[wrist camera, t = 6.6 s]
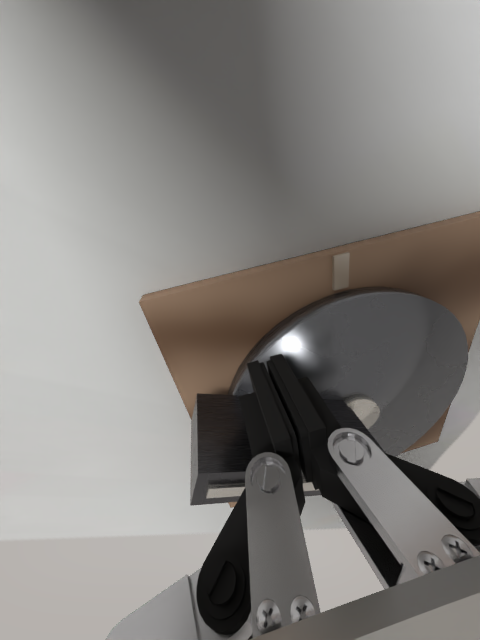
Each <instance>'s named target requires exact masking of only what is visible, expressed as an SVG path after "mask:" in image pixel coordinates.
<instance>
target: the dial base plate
mask: <svg viewBox="0 0 480 640" xmlns="http://www.w3.org/2000/svg"><path fill="white" fill-rule="evenodd" d="M382 286H383V287H391V288H399V289H402V290H406V291H409V292H413V293H415V294H418V295H420V296H423V297H425V298H428V299H430V300H433V301H435V302H437V303H438V304H440V305H442V306H444V307H445V308H447V309H448V310H449V311H450V312H451V313H453V314H454V315H455V317H456V318H457V319H458V321H459V322H460V323H461V325H462V327H463V330H464V332H465V334H466V339H467V344H468V352H469V349H470V346H471V343H472V340H473V337H474V334H475V331H476V328H477V325H478V323H479V320H480V211H479V212H475V213H471V214H467V215H463V216H459V217H455V218H451V219H447V220H443V221H439V222H435V223H431V224H427V225H423V226H419V227H415V228H411V229H407V230H403V231H398V232H394V233H390V234H386V235H382V236H378V237H374V238H370V239H366V240H362V241H358V242H354V243H350V244H346V245H342V246H338V247H334V248H330V249H326V250H322V251H318V252H314V253H310V254H306V255H302V256H298V257H294V258H290V259H286V260H282V261H278V262H274V263H270V264H266V265H262V266H258V267H254V268H250V269H246V270H242V271H237V272H233V273H229V274H225V275H221V276H217V277H213V278H209V279H205V280H201V281H197V282H193V283H189V284H185V285H181V286H177V287H173V288H169V289H165V290H161V291H157V292H153V293H149V294H145V295H143V296H142V298H141V300H140V301H139V304H140V306H141V308H142V310H143V312H144V315H145V317H146V319H147V321H148V324H149V326H150V328H151V330H152V333H153V335H154V337H155V339H156V342H157V344H158V346H159V348H160V351H161V353H162V355H163V357H164V360H165V362H166V364H167V366H168V368H169V371H170V373H171V375H172V377H173V380H174V382H175V384H176V386H177V389H178V391H179V393H180V395H181V398H182V400H183V402H184V404H185V407H186V409H187V411H188V413H189V416H190V418H191V420H192V416H193V411H194V406H195V400H196V395H197V393H199V394H222V395H228V391H229V388H230V385H231V382H232V380H233V378H234V376H235V374H236V372H237V370H238V368H239V366H240V364H241V363H242V362H243V360H244V359H245V357H246V356H247V354H248V353H249V352H250V350H251V349H252V348H253V347H254V346H255V345H256V344H257V343H258V341H259V340H260V339H261V338H262V337H263V336H264V335H265V334H267V333H268V332H269V331H270V330H271V329H272V328H273V327H274V326H276V325H277V324H278V323H280V322H281V321H282V320H284V319H285V318H287V317H288V316H289V315H291V314H292V313H294V312H296V311H297V310H299V309H301V308H303V307H305V306H306V305H308V304H310V303H312V302H314V301H317V300H319V299H322V298H324V297H326V296H329V295H332V294H335V293H339V292H342V291H346V290H350V289H356V288H362V287H382ZM449 407H450V405H449ZM449 407H448V408H447V409H446V411H445V412H444V413H443V415H442V416H441V417H440V418H439V419H438V421H437V422H436V423H435V424H434V425H433V426H432V427H431V428H430V429H429V430H428V431H427V432H426V433H425V434H424V435H423V436H422V437H421V438H420V439H418V440H417V441H416V442H415V443H414V444H412V445H411V446H410V447H408V448H407V449H406V450H404V451H403V452H406V451H410V450H413V449H416V448H419V447H422V446H425V445H428V444H431V443H434V442H438V440H439V437H440V434H441V431H442V428H443V425H444V422H445V419H446V416H447V413H448V410H449ZM403 452H402V453H403ZM228 503H229V505H230V507H235V505H236V503H237V502H228Z"/></svg>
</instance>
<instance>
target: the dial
mask: <svg viewBox="0 0 480 640" xmlns="http://www.w3.org/2000/svg"><path fill="white" fill-rule="evenodd" d="M278 354H282V355H283V356H284V358H285V360H286V361H287V363H288V365H289V367H290V368H291V370H292V372H293V373H294V375H295V377H296V378H297V379H300V378H303V377H308V378H309V380H310V381H311V382H312V384H313V385H314V387H315V388H316V390H317V391H318V393H319V394H320V396H321V397H322V399H323V400H324V402H325V403H326V405H327V406H328V408H329V409H330V411H331V412H332V414H333V415H334V417H335V418H336V420H337V421H338V423H339V424H340V426H341V427H342V428H351V429H355V430H358V431H360V432H362V433H364V434H365V435H366V436H367V437H369V438H370V439H371V440H372V441H373V442H374V443H375V444H376V445H377V446H378V447H379V449H380V450H381V451H382V452H384V453H387V454H389V455H392V456H394V457H395V456H397V455H398V454H400V453H402V452H403V451H404V450H406V449H407V448H408V447H410V446H411V445H412V444H414V443H415V442H416V441H417V440H418V439H420V438H421V437H422V436H423V435H424V434H425V433H426V432H427V431H428V430H429V429H430V428H431V427H432V426H433V425H434V424H435V423H436V422H437V421H438V419H439V418H440V417H441V416H442V415H443V413H444V412H445V411H446V409H447V408H448V407H449V405H450V404H451V402H452V400H453V399H454V397H455V395H456V394H457V392H458V390H459V387H460V385H461V383H462V381H463V377H464V374H465V371H466V366H467V360H468V344H467V339H466V334H465V332H464V330H463V327H462V325H461V323H460V322H459V321H458V319H457V318H456V317H455V315H454V314H453V313H451V312H450V311H449V310H448V309H447V308H445V307H444V306H442V305H440V304H438V303H437V302H435V301H433V300H430V299H428V298H425V297H423V296H420V295H418V294H415V293H413V292H409V291H406V290H402V289H399V288H391V287H383V286H382V287H362V288H356V289H350V290H346V291H342V292H339V293H335V294H332V295H329V296H326V297H324V298H322V299H319V300H317V301H314V302H312V303H310V304H308V305H306V306H305V307H303V308H301V309H299V310H297V311H296V312H294V313H292V314H291V315H289V316H288V317H287V318H285V319H284V320H282V321H281V322H280V323H278V324H277V325H276V326H274V327H273V328H272V329H271V330H270V331H269V332H268V333H267V334H265V335H264V336H263V337H262V338H261V339H260V340H259V341H258V343H257V344H256V345H255V346H254V347H253V348H252V349H251V350H250V352H249V353H248V354H247V356H246V357H245V359H244V360H243V362H242V363H241V364H240V366H239V368H238V370H237V372H236V374H235V376H234V378H233V380H232V382H231V385H230V388H229V391H228V395H222V394H199V393H197V395H196V400H195V406H194V411H193V416H192V421H191V499H190V505H202V504H215V503H227V502H237V501H238V500H239V498H240V496H241V494H242V492H243V491H244V489H245V487H246V486H245V474H246V469H247V467H248V464H249V463H250V461H251V460H252V459H253V456H252V452H251V448H250V444H249V439H248V435H247V431H246V426H245V422H244V418H243V413H242V409H241V405H240V401H239V396H243V395H246V394H249V393H253V392H254V391H253V387H252V383H251V379H250V375H249V371H248V367H247V363H250V362H253V361H257V360H258V361H259V363H261V362H264V364H265V367H266V369H267V371H268V368H267V362H266V361H268V360H270V357H271V356H274V355H278ZM301 472H302V470H301ZM302 478H303V490H304V496H314V495H321V493H320V490H319V489H318V490H315V488H314V486H313V484H312V481H311V482H308V483H307V482H306V480H305V478H304V475H303V473H302Z"/></svg>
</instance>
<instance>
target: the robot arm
mask: <svg viewBox="0 0 480 640" xmlns="http://www.w3.org/2000/svg"><path fill="white" fill-rule="evenodd" d="M266 362H267V368H268V371H267V369H266V367H265V364H264V362H261V363H259V361H258V360H257V361H253V362H250V363H247V367H248V371H249V375H250V379H251V383H252V387H253V391H254V392H253V393H249V394H246V395H243V396H239V401H240V405H241V409H242V413H243V418H244V422H245V426H246V431H247V435H248V439H249V444H250V448H251V452H252V456H253V459H252V460H251V461H250V463H249V464H248V467H247V469H246V474H245V486H246V487H245V489H244V491H243V492H242V494H241V496H240V498H239V500H238V501H237V503H236V505H235V507H234V509H233V511H232V512H231V514H230V516H229V518H228V520H227V521H226V523H225V525H224V527H223V529H222V531H221V532H220V534H219V536H218V538H217V540H216V542H215V543H214V545H213V547H212V549H211V551H210V553H209V554H208V556H207V558H206V560H205V562H204V563H203V566H202V568H200V569H199V570H197V571H196V572H195V573H193V574H192V575H190V576H188V575H185V576H184V577H183V578H181V579H180V580H178V581H177V582H176V583H174V584H173V585H171V586H170V587H168V588H167V589H165V590H164V591H162V592H161V593H160V594H158V595H157V596H155V597H154V598H153V599H151V600H150V601H148V602H147V603H145V604H144V605H142V606H141V607H140V608H138V609H137V610H135V611H134V612H132V613H131V614H129V615H128V616H127V617H126V618H124V619H122V620H121V621H120V622H119V623H118V624H117V625H116V626H115V627H114V628H113V629H112V630H111V632H110V633H109V635H108V636H107V638H106V640H480V478H475V479H467V480H466V482H457V481H455V480H453V479H450V478H447V477H445V476H443V475H440V474H438V473H435V472H433V471H430V470H427V469H425V468H422V467H420V466H417V465H415V464H412V463H410V462H407V461H404V460H402V459H399V458H397V457H394V456H392V455H389V454H387V453H384V452H382V451H381V450H380V449H379V447H378V446H377V445H376V444H375V443H374V442H373V441H372V440H371V439H370V438H369V437H367V436H366V435H365V434H364V433H362V432H360V431H358V430H355V429H351V428H342V427H341V426H340V424H339V423H338V421H337V420H336V418H335V417H334V415H333V414H332V412H331V411H330V409H329V408H328V406H327V405H326V403H325V402H324V400H323V399H322V397H321V396H320V394H319V393H318V391H317V390H316V388H315V387H314V385H313V384H312V382H311V381H310V380H309V378H308V377H303V378H300V379H297V378H296V377H295V375H294V373H293V372H292V370H291V368H290V367H289V365H288V363H287V361H286V360H285V358H284V356H283V355H282V354H278V355H274V356H271V357H270V360H268V361H266ZM301 470H302V472H301ZM302 473H303V475H304V478H305V480H306V482H307V483H308V482H311V481H312V484H313V486H314V488H315V490H318V489H319V490H320V493H321V495H322V497H324V498H326V499H328V500H330V501H331V502H332V504H333V506H334V508H335V509H336V511H337V513H338V514H339V516H340V517H341V519H342V521H343V522H344V524H345V526H346V527H347V529H348V530H349V532H350V534H351V535H352V537H353V539H354V540H355V542H356V544H357V545H358V547H359V548H360V550H361V552H362V553H363V555H364V557H365V558H366V560H367V561H368V563H369V564H370V566H371V568H372V570H373V571H374V573H375V574H376V576H377V578H378V579H379V581H380V583H381V584H382V586H383V587H384V589H385V590H382V591H379V592H377V593H374V594H371V595H369V596H366V597H363V598H360V599H358V600H355V601H352V602H349V603H347V604H344V605H341V606H338V607H336V608H333V609H330V610H328V611H325V612H322V613H320V608H319V603H318V599H317V594H316V589H315V585H314V580H313V576H312V571H311V566H310V561H309V557H308V552H307V547H306V543H305V538H304V533H303V528H302V524H301V519H300V515H301V513H302V510H303V507H304V504H305V497H304V490H303V478H302Z"/></svg>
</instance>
